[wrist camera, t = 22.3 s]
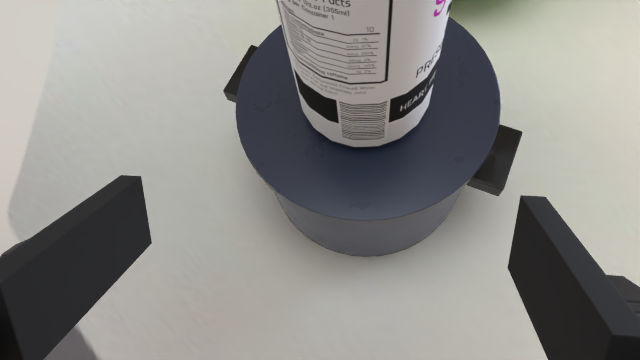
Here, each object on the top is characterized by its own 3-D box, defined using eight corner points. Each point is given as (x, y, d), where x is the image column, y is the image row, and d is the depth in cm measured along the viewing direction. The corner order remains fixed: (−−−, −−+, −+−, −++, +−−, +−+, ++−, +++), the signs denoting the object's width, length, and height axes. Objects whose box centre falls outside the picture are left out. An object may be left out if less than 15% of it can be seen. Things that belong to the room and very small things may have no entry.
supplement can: (285, 68, 31) (220, -173, 17) (398, 29, 32) (422, -238, 18) (325, 170, 28) (283, -28, 14) (451, 125, 28) (529, -111, 15)
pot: (217, 208, 39) (167, 152, 30) (302, 56, 45) (283, -34, 35) (447, 306, 34) (478, 278, 25) (510, 122, 40) (558, 39, 30)
